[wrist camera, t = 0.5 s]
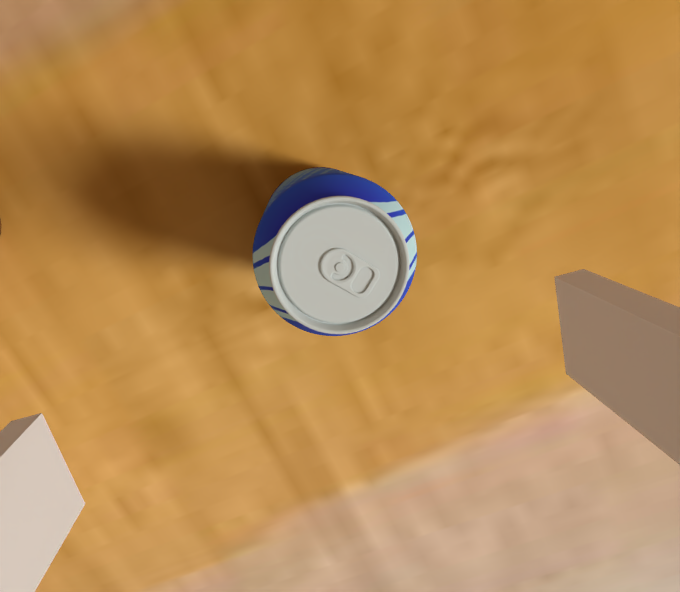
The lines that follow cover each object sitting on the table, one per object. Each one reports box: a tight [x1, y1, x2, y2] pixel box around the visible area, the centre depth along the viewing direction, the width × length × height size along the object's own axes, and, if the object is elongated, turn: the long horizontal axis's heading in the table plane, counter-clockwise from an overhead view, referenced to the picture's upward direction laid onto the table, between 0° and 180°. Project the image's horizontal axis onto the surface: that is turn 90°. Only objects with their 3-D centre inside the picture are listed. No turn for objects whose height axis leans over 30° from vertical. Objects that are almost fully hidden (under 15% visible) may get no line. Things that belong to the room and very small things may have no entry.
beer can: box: [253, 167, 417, 336], centre depth 31 cm, size 8×8×16 cm
